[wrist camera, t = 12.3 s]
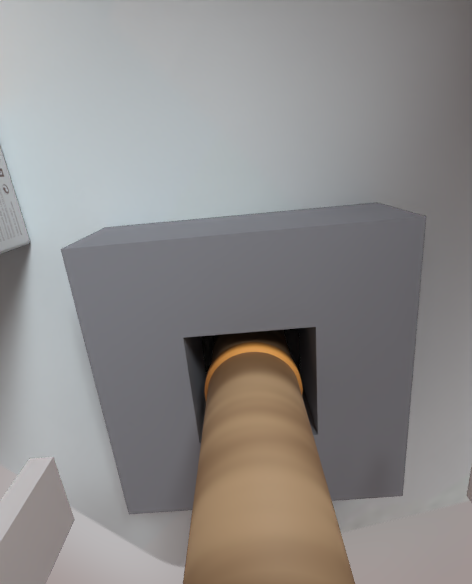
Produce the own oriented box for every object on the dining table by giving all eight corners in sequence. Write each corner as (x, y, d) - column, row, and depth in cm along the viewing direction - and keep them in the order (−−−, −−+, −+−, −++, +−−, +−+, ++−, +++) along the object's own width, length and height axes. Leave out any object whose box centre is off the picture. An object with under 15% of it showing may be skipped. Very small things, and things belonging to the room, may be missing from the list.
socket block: (104, 227, 19) (60, 249, 14) (377, 202, 18) (425, 216, 14) (150, 443, 23) (128, 514, 19) (368, 427, 23) (402, 495, 18)
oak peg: (208, 306, 20) (154, 571, 7) (285, 299, 20) (377, 558, 7) (216, 372, 22) (184, 697, 8) (288, 367, 22) (370, 688, 8)
